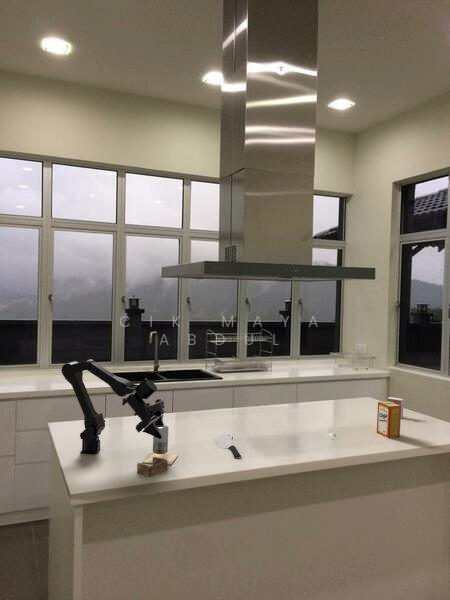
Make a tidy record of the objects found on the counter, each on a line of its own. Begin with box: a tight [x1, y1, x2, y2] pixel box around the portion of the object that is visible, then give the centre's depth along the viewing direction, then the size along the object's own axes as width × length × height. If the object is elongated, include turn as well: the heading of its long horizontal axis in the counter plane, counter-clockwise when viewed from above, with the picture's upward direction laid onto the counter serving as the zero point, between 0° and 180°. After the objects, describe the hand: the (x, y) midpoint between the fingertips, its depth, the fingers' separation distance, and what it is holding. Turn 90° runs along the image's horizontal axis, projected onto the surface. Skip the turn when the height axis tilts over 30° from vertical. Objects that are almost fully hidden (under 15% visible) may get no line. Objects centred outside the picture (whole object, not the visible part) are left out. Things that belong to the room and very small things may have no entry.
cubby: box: [136, 457, 168, 478], centre depth 187 cm, size 7×10×4 cm
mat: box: [141, 452, 178, 467], centre depth 200 cm, size 12×11×1 cm
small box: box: [386, 396, 405, 419], centre depth 281 cm, size 8×6×10 cm
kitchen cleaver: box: [214, 433, 242, 459], centre depth 219 cm, size 31×2×10 cm
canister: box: [152, 424, 169, 454], centre depth 200 cm, size 6×6×10 cm
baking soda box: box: [376, 400, 402, 439], centre depth 244 cm, size 10×6×16 cm
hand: (163, 435), depth 199 cm, fingers closed on canister, 6 cm apart
